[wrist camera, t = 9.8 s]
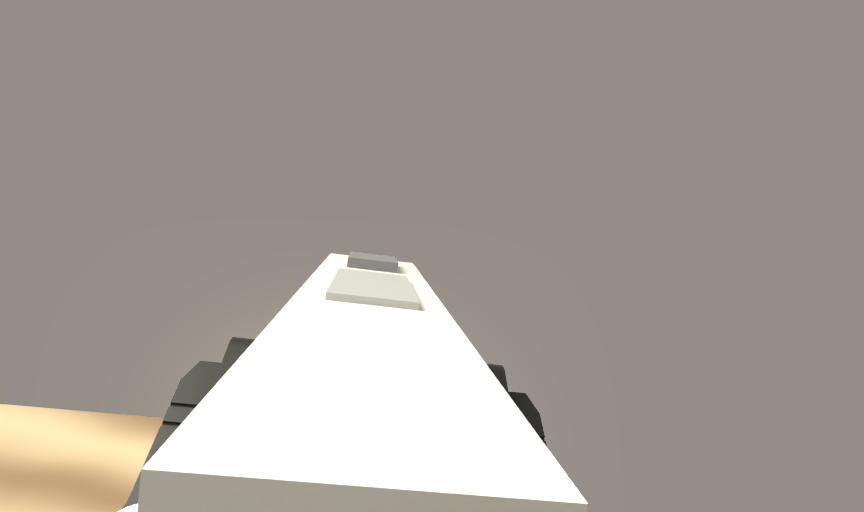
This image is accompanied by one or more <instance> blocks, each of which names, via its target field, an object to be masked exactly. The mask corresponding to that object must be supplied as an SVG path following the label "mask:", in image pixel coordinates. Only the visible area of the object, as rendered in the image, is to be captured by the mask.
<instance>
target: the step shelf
mask: <svg viewBox="0 0 864 512" xmlns="http://www.w3.org/2000/svg"><path fill="white" fill-rule="evenodd" d="M163 419H164V418H156V417H143V416H133V415H121V414H109V413H98V412H86V411H74V410H63V409H51V408H39V407H28V406H16V405H5V404H0V512H118V511H120V510H121V509H122V507H123V506H124V505H125V503H126V502H127V500H128V498H129V496H130V494H131V492H132V490H133V487H134V485H135V483H136V480H137V478H138V476H139V474H140V471H141V469H142V467H143V465H144V462H145V460H146V458H147V455H148V453H149V451H150V449H151V446H152V444H153V442H154V440H155V437H156V435H157V433H158V430H159V428H160V426H162V423H163Z"/></svg>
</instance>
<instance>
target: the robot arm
mask: <svg viewBox="0 0 864 512" xmlns="http://www.w3.org/2000/svg"><path fill="white" fill-rule="evenodd" d="M254 340H255V339H245V338H236V337H233V338H232V339H231V341H230V342H229V345H228V348H227V351H226V353H225V356H224V358H223V361H222V363H217V362H206V361H200V362H199V363H198V364H197V365H196V366H195V367H194V368H193V369H191V370H190V371H189V372H188V373H187V374H186V375H185V376H184V377H183V378H182V379H181V380H180V383H179V385H178V387H177V389H176V392H175V394H174V396H173V399H172V401H171V405H170V407H169V408H168V410H167V412H166V415H165V417H164V419H163V423H162V426H160V428H159V430H158V433H157V435H156V437H155V440H154V442H153V444H152V446H151V449H150V451H149V453H148V455H147V458H146V460H145V462H144V465H143V467H144V466H145V464H146V463H147V462H148V461H149V460H150V459H151V458H152V456H153V455H154V454H155V453H156V452H157V451H158V450H159V448H160V447H161V446H162V445H163V444H164V443H165V442H166V440H167V439H168V438H169V437H170V436H171V435H172V434H173V432H174V431H175V430H176V429H177V428H178V427H179V426H180V425H181V423H182V422H183V421H184V420H185V419H186V418H187V417H188V415H189V414H190V413H191V412H192V411H193V410H194V409H195V407H196V406H197V405H198V404H199V403H200V402H201V401H202V399H203V398H204V397H205V396H206V395H207V394H208V393H209V392H210V390H211V389H212V388H213V387H214V386H215V385H216V384H217V382H218V381H219V380H220V379H221V378H222V377H223V376H224V374H225V373H226V372H227V371H228V370H229V369H230V368H231V366H232V365H233V364H234V363H235V362H236V361H237V360H238V358H239V357H240V356H241V355H242V354H243V353H244V352H245V351H246V349H247V348H248V347H249V346H250V345H251V344H252V343H253V341H254ZM487 366H488V367H489V369H490V370H491V371H492V373H493V374H494V375H495V377H496V378H497V380H498V381H499V382H500V384H501V385H502V386H503V388H504V389H505V391H506V392H507V393H508V395H509V396H510V397H511V399H512V400H513V401H514V403H515V404H516V406H517V407H518V408H519V410H520V411H521V412H522V414H523V415H524V417H525V418H526V419H527V421H528V422H529V423H530V425H531V426H532V428H533V429H534V430H535V432H536V433H537V434H538V436H539V437H540V439H541V440H542V441H543V443H544V444H545V445H546V441H544V437H545V436H544V432H543V427H542V423H541V418H540V414H539V412H538V411H537V409H536V408H535V407H534V405H533V404H532V402H531V401H530V399H529V398H528V396H527V395H526V393H516V392H508V388H507V382H506V376H505V371H504V368H503V366H501V365H493V364H487ZM546 447H547V445H546ZM143 467H142V468H143ZM140 477H141V471H140V474H139V476H138V478H137V480H136V483H135V485H134V487H133V490H132V492H131V494H130V496H129V498H128V500H127V502H126V503H125V505H124V506H123V507H122V509H121V510H120V511H118V512H137V508H138V498H139V487H140Z"/></svg>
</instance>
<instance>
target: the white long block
mask: <svg viewBox="0 0 864 512" xmlns="http://www.w3.org/2000/svg"><path fill="white" fill-rule="evenodd" d="M587 508H588V503H587V502H586V500H585V499H584V498H583V496H582V495H581V494H580V492H579V491H578V489H577V488H576V487H575V485H574V484H573V483H572V481H571V480H570V478H569V477H568V476H567V474H566V473H565V471H564V470H563V469H562V467H561V466H560V465H559V463H558V462H557V461H556V459H555V458H554V457H553V455H552V454H551V452H550V451H549V450H548V448H547V447H546V445H545V444H544V443H543V441H542V440H541V439H540V437H539V436H538V434H537V433H536V432H535V430H534V429H533V428H532V426H531V425H530V423H529V422H528V421H527V419H526V418H525V417H524V415H523V414H522V412H521V411H520V410H519V408H518V407H517V406H516V404H515V403H514V401H513V400H512V399H511V397H510V396H509V395H508V393H507V392H506V391H505V389H504V388H503V386H502V385H501V384H500V382H499V381H498V380H497V378H496V377H495V375H494V374H493V373H492V371H491V370H490V369H489V367H488V366H487V364H486V363H485V362H484V360H483V359H482V358H481V356H480V355H479V354H478V352H477V351H476V350H475V348H474V347H473V345H472V344H471V343H470V341H469V340H468V339H467V337H466V336H465V334H464V333H463V332H462V330H461V329H460V327H459V326H458V325H457V323H456V322H455V321H454V319H453V318H452V317H451V315H450V314H449V312H448V311H447V310H446V308H445V307H444V306H443V304H442V303H441V302H440V300H439V299H438V297H437V296H436V295H435V293H434V292H433V291H432V289H431V288H430V286H429V285H428V284H427V283H426V281H425V279H424V278H423V277H422V275H421V274H420V273H419V271H418V270H417V268H416V267H415V266H414V264H413V263H406V262H398V261H397V259H396V257H392V256H383V255H375V254H366V253H358V252H350V254H349V256H348V255H339V254H330V255H329V256H328V257H327V258H326V260H325V261H324V262H323V263H322V264H321V265H320V266H319V267H318V269H317V270H316V271H315V272H314V273H313V274H312V275H311V277H310V278H309V279H308V280H307V281H306V282H305V283H304V285H303V286H302V287H301V288H300V289H299V290H298V292H297V293H296V294H295V295H294V296H293V297H292V298H291V299H290V301H289V302H288V303H287V304H286V305H285V306H284V307H283V308H282V310H281V311H280V312H279V313H278V314H277V315H276V317H275V318H274V319H273V320H272V321H271V322H270V323H269V324H268V325H267V327H266V328H265V329H264V330H263V331H262V332H261V333H260V335H259V336H258V337H257V338H256V339H255V340H254V341H253V343H252V344H251V345H250V346H249V347H248V348H247V349H246V351H245V352H244V353H243V354H242V355H241V356H240V357H239V358H238V360H237V361H236V362H235V363H234V364H233V365H232V366H231V368H230V369H229V370H228V371H227V372H226V373H225V374H224V376H223V377H222V378H221V379H220V380H219V381H218V382H217V384H216V385H215V386H214V387H213V388H212V389H211V390H210V392H209V393H208V394H207V395H206V396H205V397H204V398H203V399H202V401H201V402H200V403H199V404H198V405H197V406H196V407H195V409H194V410H193V411H192V412H191V413H190V414H189V415H188V417H187V418H186V419H185V420H184V421H183V422H182V423H181V425H180V426H179V427H178V428H177V429H176V430H175V431H174V432H173V434H172V435H171V436H170V437H169V438H168V439H167V440H166V442H165V443H164V444H163V445H162V446H161V447H160V448H159V450H158V451H157V452H156V453H155V454H154V455H153V456H152V458H151V459H150V460H149V461H148V462H147V463H146V464H145V466H144V467H143V468H142V469H141V477H140V487H139V498H138V508H137V512H587Z"/></svg>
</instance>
